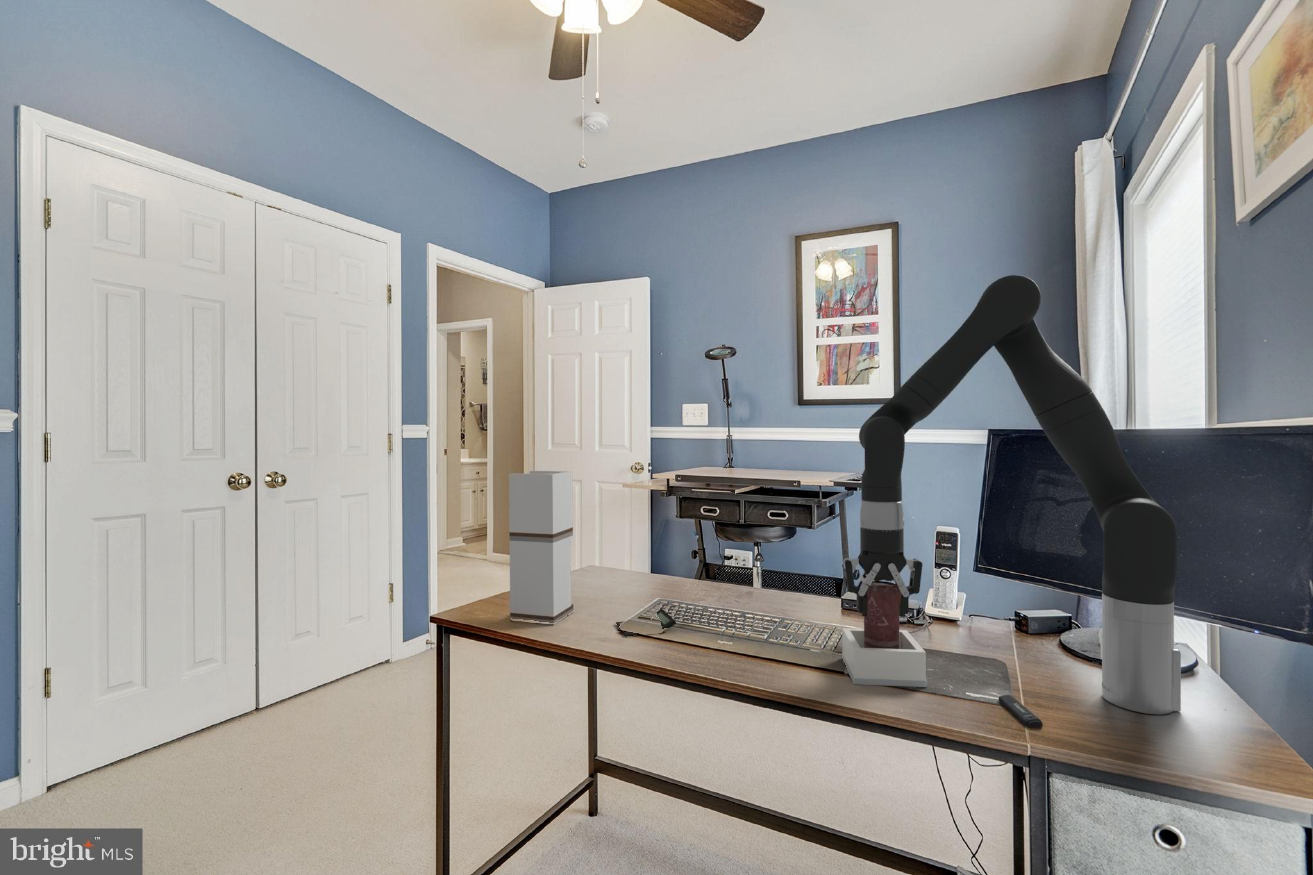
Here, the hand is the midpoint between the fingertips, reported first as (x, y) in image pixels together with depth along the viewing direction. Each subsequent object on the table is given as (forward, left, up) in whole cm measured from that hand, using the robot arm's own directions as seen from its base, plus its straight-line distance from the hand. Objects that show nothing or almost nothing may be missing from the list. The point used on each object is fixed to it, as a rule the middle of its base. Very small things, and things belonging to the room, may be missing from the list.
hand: (882, 615), depth 114 cm
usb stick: (-17, +15, -11) cm, 26 cm away
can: (0, 0, -8) cm, 8 cm away
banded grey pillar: (+73, -27, -11) cm, 79 cm away
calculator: (+47, -21, -11) cm, 53 cm away
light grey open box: (0, 0, -11) cm, 11 cm away
